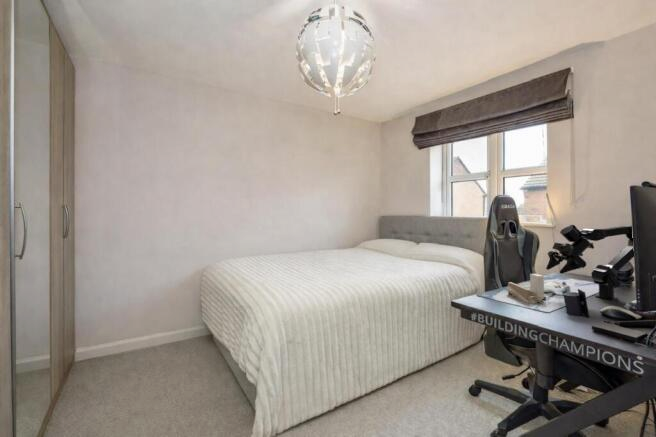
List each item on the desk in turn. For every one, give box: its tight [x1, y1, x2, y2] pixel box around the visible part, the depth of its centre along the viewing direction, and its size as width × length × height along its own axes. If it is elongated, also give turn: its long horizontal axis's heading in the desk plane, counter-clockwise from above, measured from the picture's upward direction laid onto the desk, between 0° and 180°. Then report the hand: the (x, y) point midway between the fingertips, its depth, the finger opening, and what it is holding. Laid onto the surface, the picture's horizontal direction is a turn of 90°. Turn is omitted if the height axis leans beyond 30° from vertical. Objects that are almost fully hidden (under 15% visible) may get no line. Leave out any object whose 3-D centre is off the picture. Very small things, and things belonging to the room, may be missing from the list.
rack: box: [507, 281, 547, 304], centre depth 147 cm, size 12×16×6 cm
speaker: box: [562, 288, 590, 319], centre depth 124 cm, size 8×6×10 cm
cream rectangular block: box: [529, 273, 545, 299], centre depth 147 cm, size 3×6×12 cm, turn 178°
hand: (553, 270), depth 147 cm, fingers open, 9 cm apart
